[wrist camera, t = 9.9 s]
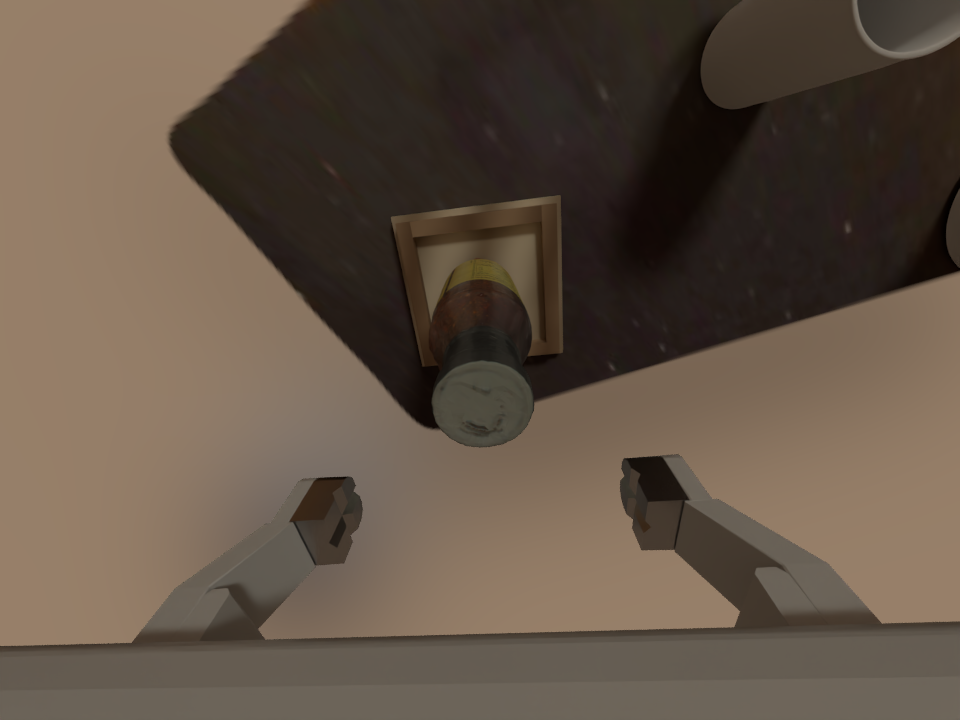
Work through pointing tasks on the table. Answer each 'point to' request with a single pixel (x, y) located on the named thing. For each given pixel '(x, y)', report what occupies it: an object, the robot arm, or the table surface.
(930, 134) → the table surface
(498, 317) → the sauce bottle
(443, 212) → the seat plate
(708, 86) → the mug
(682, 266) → the table surface
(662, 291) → the table surface
